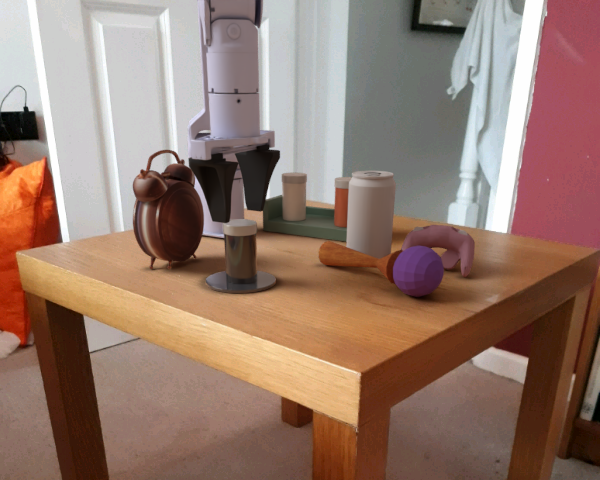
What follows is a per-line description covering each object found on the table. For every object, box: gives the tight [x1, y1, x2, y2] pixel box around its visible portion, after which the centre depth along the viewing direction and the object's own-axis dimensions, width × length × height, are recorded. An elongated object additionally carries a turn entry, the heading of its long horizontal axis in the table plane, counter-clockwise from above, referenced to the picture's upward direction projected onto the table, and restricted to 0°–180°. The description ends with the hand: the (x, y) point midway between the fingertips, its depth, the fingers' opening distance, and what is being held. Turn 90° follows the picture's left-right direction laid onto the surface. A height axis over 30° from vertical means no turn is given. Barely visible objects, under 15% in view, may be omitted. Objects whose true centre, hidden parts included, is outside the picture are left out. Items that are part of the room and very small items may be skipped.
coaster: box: [205, 270, 277, 294], centre depth 81 cm, size 9×9×1 cm
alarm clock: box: [132, 149, 204, 270], centre depth 85 cm, size 11×5×15 cm, turn 154°
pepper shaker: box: [223, 218, 258, 284], centre depth 79 cm, size 4×4×7 cm
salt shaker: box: [281, 171, 308, 221], centre depth 106 cm, size 4×4×7 cm
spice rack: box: [262, 194, 347, 243], centre depth 106 cm, size 18×9×5 cm, turn 61°
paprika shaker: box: [333, 176, 353, 228], centre depth 102 cm, size 4×4×7 cm
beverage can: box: [345, 170, 397, 259], centre depth 88 cm, size 6×6×12 cm
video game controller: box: [400, 224, 476, 278], centre depth 86 cm, size 10×5×7 cm, turn 71°
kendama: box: [318, 240, 445, 298], centre depth 81 cm, size 6×6×20 cm
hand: (238, 215), depth 78 cm, fingers open, 7 cm apart
